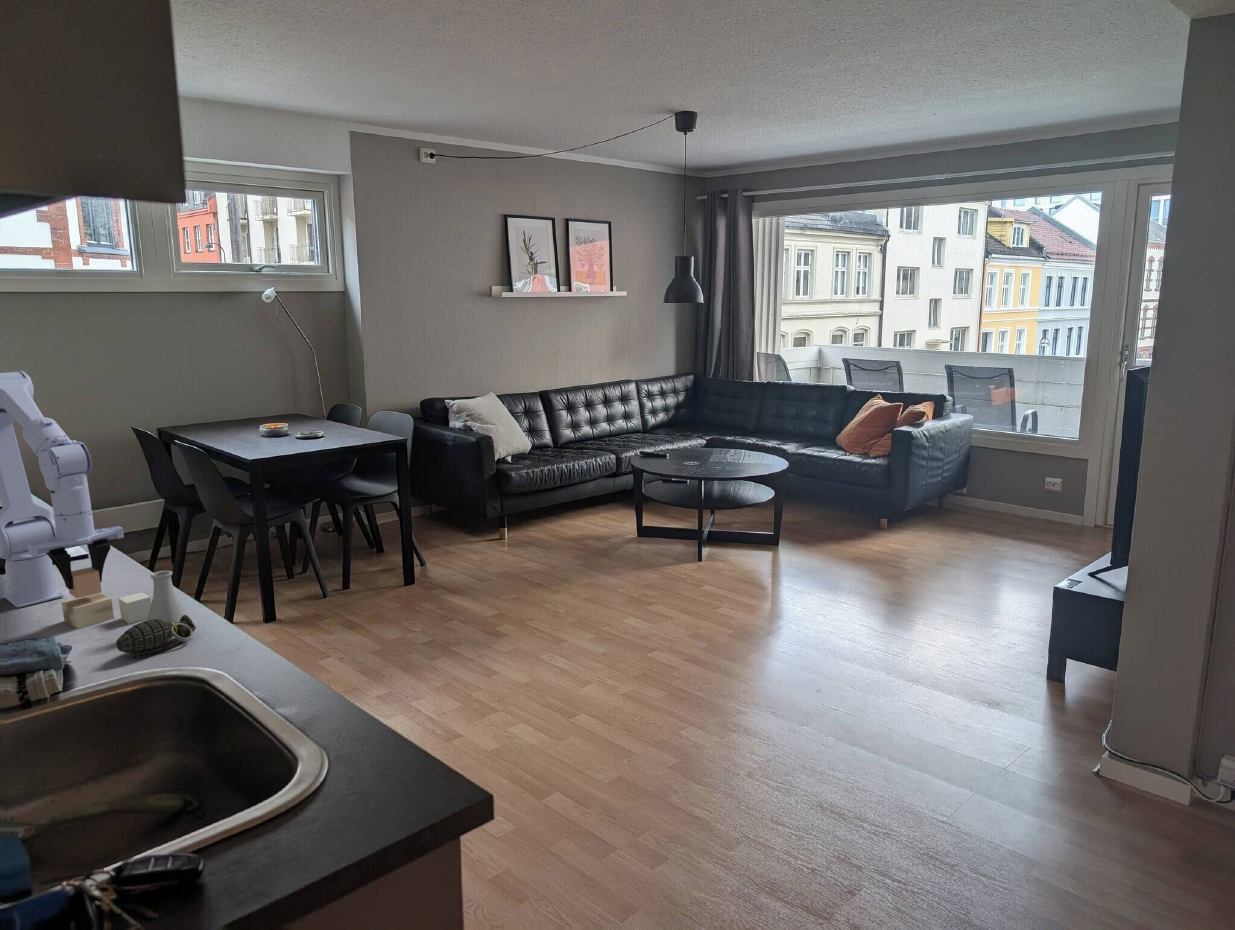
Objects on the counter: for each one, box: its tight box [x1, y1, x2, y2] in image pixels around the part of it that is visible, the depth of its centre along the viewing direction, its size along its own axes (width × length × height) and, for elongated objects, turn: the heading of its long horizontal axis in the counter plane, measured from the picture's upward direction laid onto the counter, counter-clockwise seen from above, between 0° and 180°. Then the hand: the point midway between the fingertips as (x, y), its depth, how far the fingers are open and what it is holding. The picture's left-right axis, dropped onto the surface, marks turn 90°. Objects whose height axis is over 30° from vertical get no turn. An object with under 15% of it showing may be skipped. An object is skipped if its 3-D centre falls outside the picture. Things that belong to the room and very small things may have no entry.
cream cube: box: [118, 591, 152, 625], centre depth 155 cm, size 4×4×4 cm
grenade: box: [116, 615, 197, 659], centre depth 141 cm, size 6×5×12 cm
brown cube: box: [68, 566, 102, 598], centre depth 153 cm, size 4×4×4 cm
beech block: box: [60, 592, 115, 629], centre depth 155 cm, size 6×6×4 cm
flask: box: [146, 570, 193, 623], centre depth 150 cm, size 7×7×10 cm
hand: (84, 584), depth 154 cm, fingers closed on brown cube, 4 cm apart
